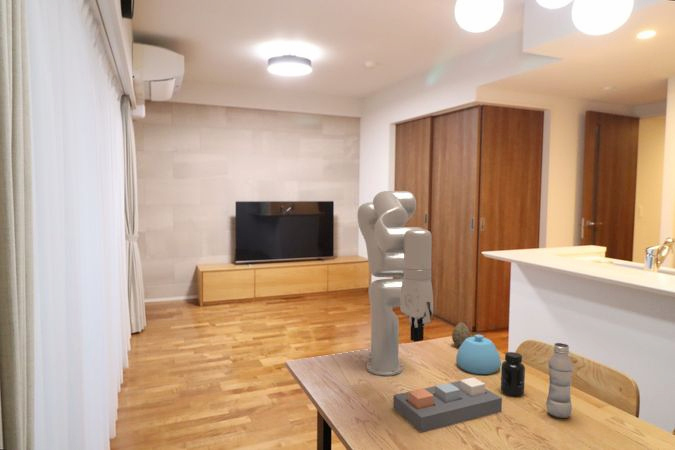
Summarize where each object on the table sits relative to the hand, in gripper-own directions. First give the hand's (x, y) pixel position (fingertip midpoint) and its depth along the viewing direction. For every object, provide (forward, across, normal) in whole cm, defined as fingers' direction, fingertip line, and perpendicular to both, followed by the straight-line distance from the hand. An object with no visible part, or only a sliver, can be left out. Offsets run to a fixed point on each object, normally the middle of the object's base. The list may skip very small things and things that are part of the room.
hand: (417, 340), depth 126 cm
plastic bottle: (+21, +16, +36) cm, 45 cm away
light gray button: (+19, +2, +9) cm, 21 cm away
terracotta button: (+19, +2, 0) cm, 19 cm away
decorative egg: (+20, -38, +47) cm, 64 cm away
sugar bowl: (+21, -20, +39) cm, 48 cm away
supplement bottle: (+21, 0, +35) cm, 41 cm away
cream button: (+19, +2, +18) cm, 26 cm away
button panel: (+21, +2, +9) cm, 23 cm away
